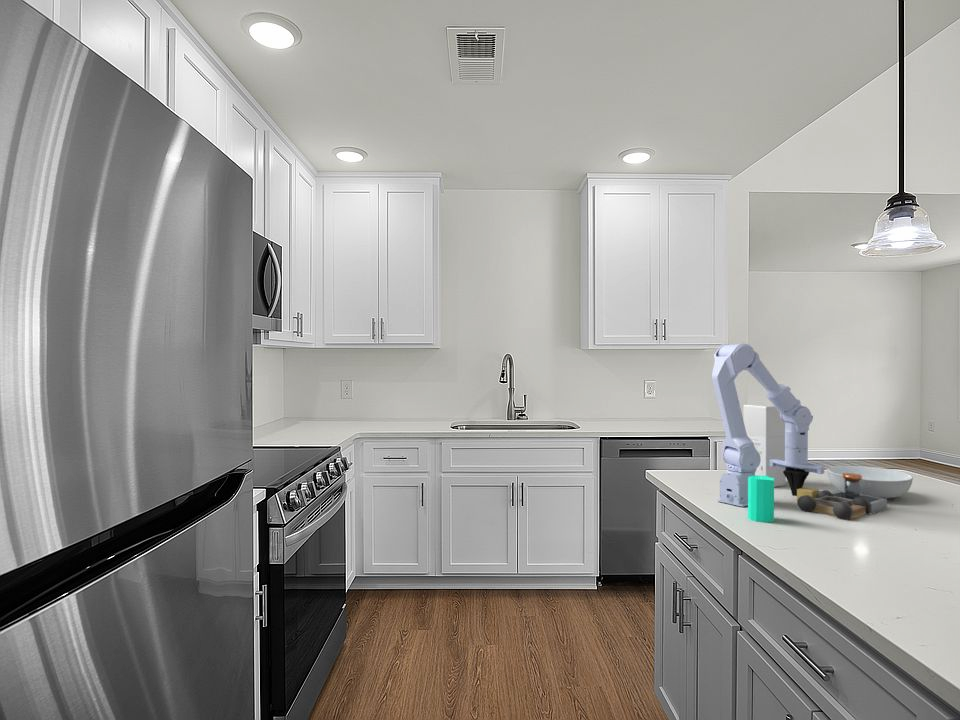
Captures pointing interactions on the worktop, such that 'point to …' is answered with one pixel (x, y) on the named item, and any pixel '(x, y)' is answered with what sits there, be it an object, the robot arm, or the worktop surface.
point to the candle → (761, 498)
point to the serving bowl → (873, 480)
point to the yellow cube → (807, 492)
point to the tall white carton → (766, 438)
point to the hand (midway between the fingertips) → (796, 495)
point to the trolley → (834, 505)
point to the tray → (875, 502)
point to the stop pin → (852, 485)
